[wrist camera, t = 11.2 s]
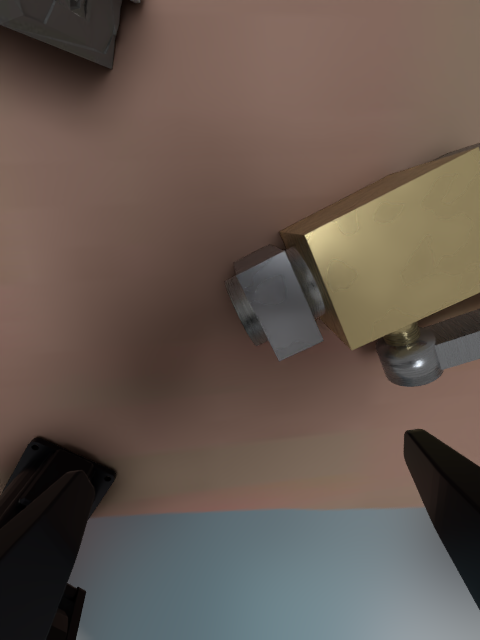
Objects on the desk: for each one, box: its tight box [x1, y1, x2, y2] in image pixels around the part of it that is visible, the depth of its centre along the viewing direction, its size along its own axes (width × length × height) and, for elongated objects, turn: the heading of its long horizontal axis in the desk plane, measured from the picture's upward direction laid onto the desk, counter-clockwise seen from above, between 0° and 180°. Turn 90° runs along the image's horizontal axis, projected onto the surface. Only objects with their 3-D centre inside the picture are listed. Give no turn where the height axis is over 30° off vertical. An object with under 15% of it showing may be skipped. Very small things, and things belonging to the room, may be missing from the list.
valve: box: [225, 143, 480, 361], centre depth 15 cm, size 15×8×6 cm, turn 116°
